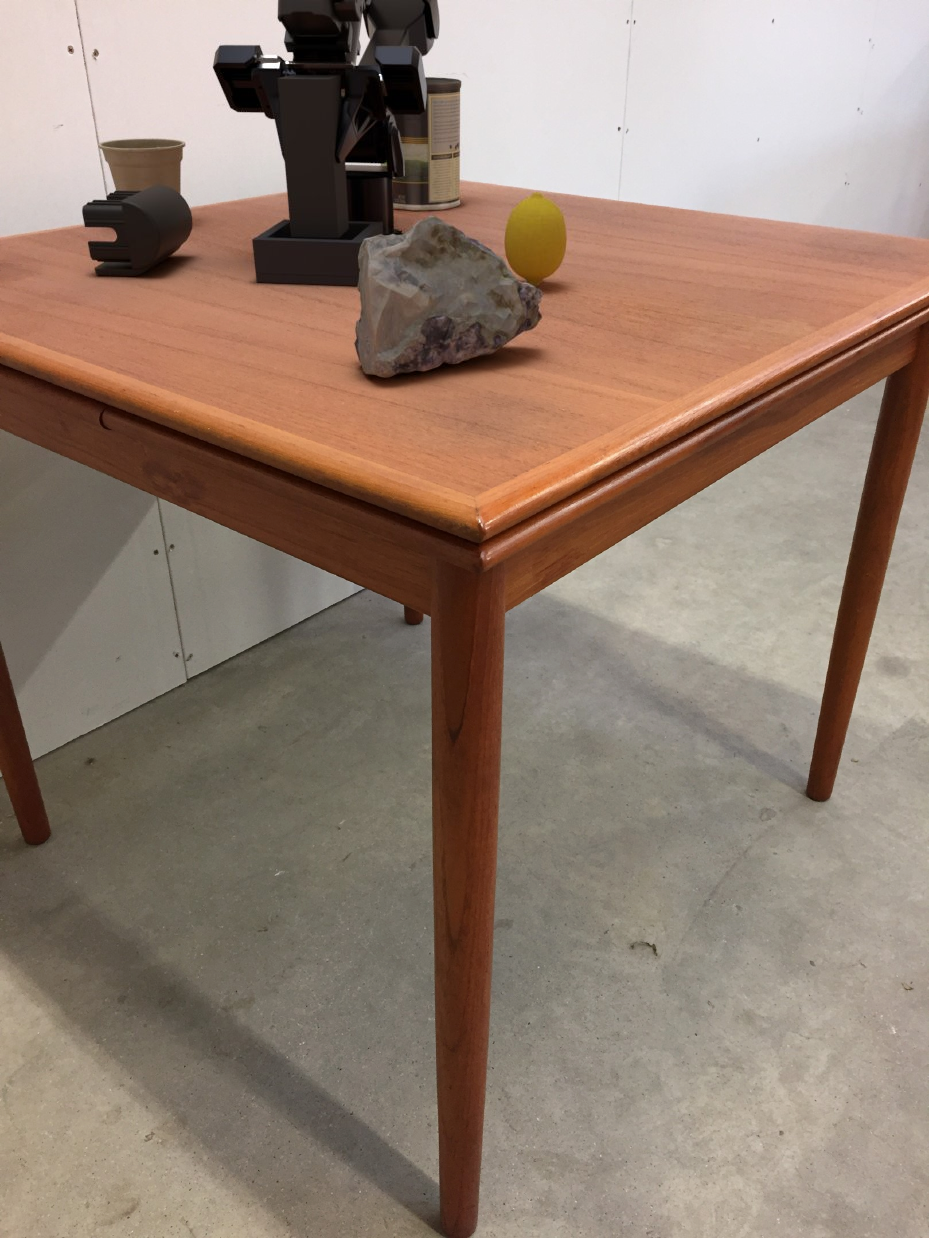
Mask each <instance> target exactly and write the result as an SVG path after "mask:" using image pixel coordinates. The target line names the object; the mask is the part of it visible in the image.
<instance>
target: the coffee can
mask: <svg viewBox="0 0 929 1238" xmlns="http://www.w3.org/2000/svg"><path fill="white" fill-rule="evenodd" d="M425 80H426V86H427V98H426V107H425V111H424V112H423V113H422V114H420V115H398V114H392V113H391V115H393V116H394V119H395V123H396V126H397V129H398V130H399V132H400V138H401V143H402V148H403V153H404V162H405V176H404V177H396V178H394V179H393V210H400V211H401V210H402V211H411V212H413V211H414V212H429V211H430V212H431V211H442V210H449V209H453V208H457V207H458V206H460V205H461V199H460V198H461V192H460V191H461V189H460V188H461V187H460V186H461V183H460V182H461V149H460V148H461V88H462V80H460V79H458V78H451V77H450V78H449V77H434V76H433V77H432V76H431V77H430V76H425ZM380 166H387V163H384V164H380Z"/></svg>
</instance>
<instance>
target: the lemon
mask: <svg viewBox="0 0 929 1238" xmlns="http://www.w3.org/2000/svg"><path fill="white" fill-rule="evenodd" d="M567 238H568V237H567V228H566V221H565V218H564V214H563V212H562V210H561V208H560V207H559V206H558V205H557V204H556V203H555V202H553V201H552V200H551V199H549V198H547V197H545V196H544V195H543V194H542V192H537V191H536V192H533V193H532V194H531V195H530V196H529V197H526V198H525V199H523V200H521V201H520V202H518V203H517V204H516V205H515V206H514V208H513V209H512V211H511V212H510V213H509V216H508V219H507V222H506V226H505V231H504V239H503V241H504V253H505V256H506V260H507V263H508V264H509V267H510V268H511V269H512V271H513V272H514V273H515V274H516V275H518V276H519V277H521V278H522V279H525V281H526V283H529V284H531V285H533V286H535V287H538V285H540V283H541V282H543V280H544V279H546V278H549V277H551V276H552V275H553V274H554V273H556V271H557V270H558V269H559V268H560V266H561V265H562V263H563V260H564V258H565V255H566V250H567V242H568V241H567Z"/></svg>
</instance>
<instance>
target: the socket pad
mask: <svg viewBox="0 0 929 1238" xmlns="http://www.w3.org/2000/svg"><path fill="white" fill-rule="evenodd" d="M380 234H381V235H383V223H382V222H359V221H349V229H348V230H347V231H346V232H345V233H344V234H343V235H342V236H341V237H339V238H338V239H336V238H300V237H291V230H290V219H289V218H287V219H282V220H281V221H279V222H278V223H276V224H275V225H273V226H271V227H270V228H268V229H266V230H265V231H263V232H262V233H260V234H258V235H257V236H255V237H254V238H252V240H251V242H252V243H251V244H252V252H253V261H254V262H253V263H254V271H255V281H256V283H262V284H263V283H265V284H268V283H269V284H291V285H292V284H294V285H319V286H321V285H322V286H346V287H349V286H350V287H357V286H358V282H359V273H360V268H359V263H358V256H359V251H360V247H361V244H362V242H363V240H364V239H366V238H370V237H374V236H377V235H380Z"/></svg>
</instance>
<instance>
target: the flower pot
mask: <svg viewBox="0 0 929 1238" xmlns="http://www.w3.org/2000/svg"><path fill="white" fill-rule="evenodd" d="M97 147H98V149H100V150H101V151H102V154H103V158H104V161H105V162H106V163H107V164H108V167H109V170H110V174H111V178H112V181H113V185H114V188H115V191H143V190H146V189H148V188H150V187H152V186H155V185H157V184H160V185H165V186H168V187H171V188H172V189H174V190H176V191H177V192H178V193H180V194H181V195H182V192H181V191H182V190H181V188H182V187H181V183H182V182H181V180H182V179H181V178H182V177H181V174H182V173H181V170H182V169H181V168H182V167H181V166H182V161H183V157H184V154H183V153H184V148H185V147H186V142H185V141H183V140H179V139H172V138H168V139H167V138H155V137H154V138H151V137H150V138H123V139H113V140H111V139H110V140H106V141H102V142H99V143H98V144H97Z"/></svg>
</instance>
